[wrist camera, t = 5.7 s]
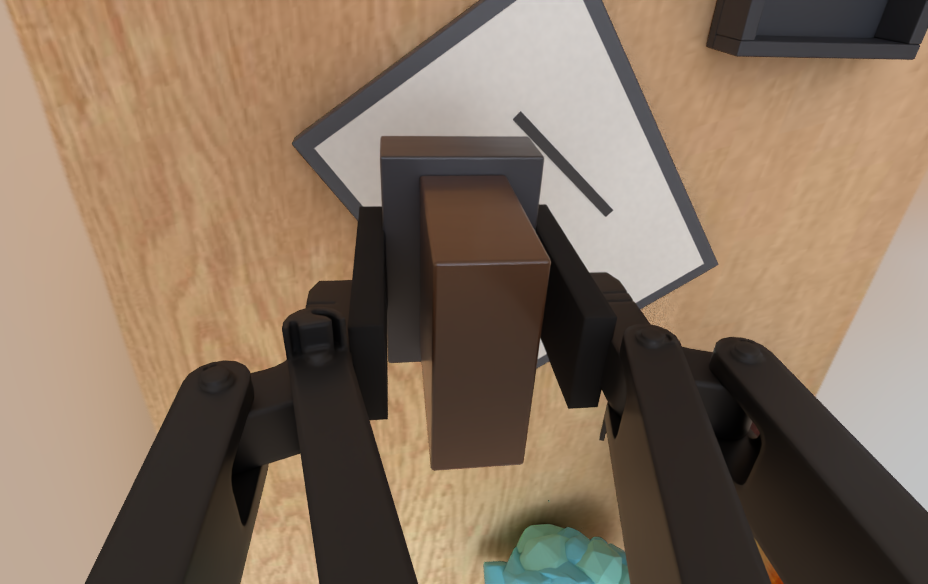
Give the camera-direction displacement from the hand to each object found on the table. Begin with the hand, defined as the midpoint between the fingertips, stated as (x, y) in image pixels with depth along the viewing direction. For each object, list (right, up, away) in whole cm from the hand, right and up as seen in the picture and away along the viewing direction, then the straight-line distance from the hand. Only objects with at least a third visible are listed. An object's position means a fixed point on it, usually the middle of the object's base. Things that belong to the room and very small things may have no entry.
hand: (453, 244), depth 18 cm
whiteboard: (+3, +3, +10) cm, 11 cm away
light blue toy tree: (+8, -21, +25) cm, 34 cm away
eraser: (0, 0, 0) cm, 0 cm away
